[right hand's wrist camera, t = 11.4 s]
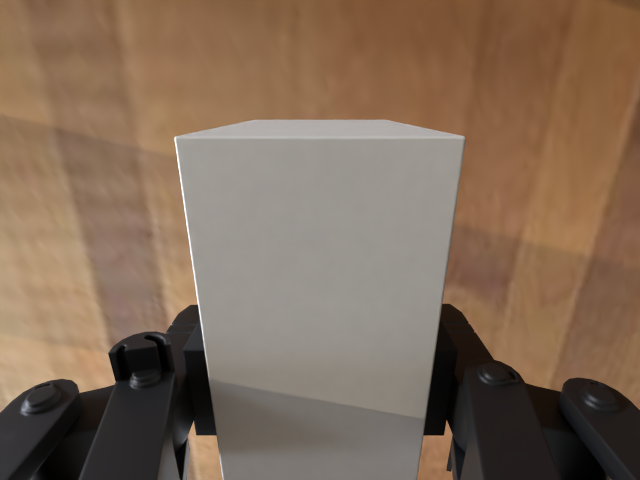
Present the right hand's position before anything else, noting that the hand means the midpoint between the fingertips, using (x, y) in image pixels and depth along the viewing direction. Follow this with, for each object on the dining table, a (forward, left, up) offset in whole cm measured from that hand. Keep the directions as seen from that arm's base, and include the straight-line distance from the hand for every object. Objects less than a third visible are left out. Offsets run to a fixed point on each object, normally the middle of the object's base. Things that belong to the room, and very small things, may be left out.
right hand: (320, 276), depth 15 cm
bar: (+6, -19, -1) cm, 20 cm away
